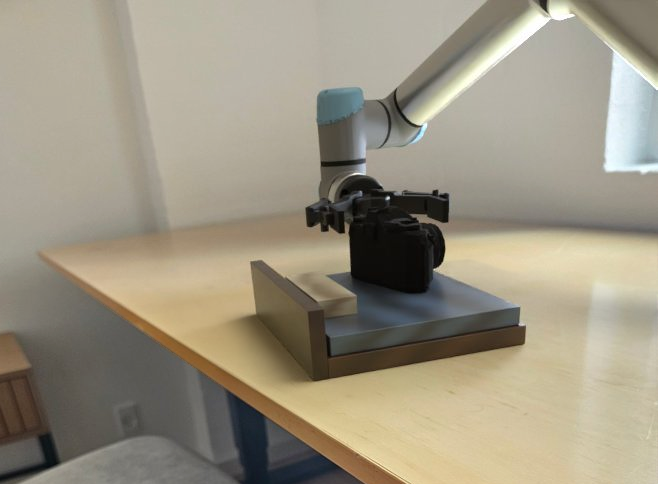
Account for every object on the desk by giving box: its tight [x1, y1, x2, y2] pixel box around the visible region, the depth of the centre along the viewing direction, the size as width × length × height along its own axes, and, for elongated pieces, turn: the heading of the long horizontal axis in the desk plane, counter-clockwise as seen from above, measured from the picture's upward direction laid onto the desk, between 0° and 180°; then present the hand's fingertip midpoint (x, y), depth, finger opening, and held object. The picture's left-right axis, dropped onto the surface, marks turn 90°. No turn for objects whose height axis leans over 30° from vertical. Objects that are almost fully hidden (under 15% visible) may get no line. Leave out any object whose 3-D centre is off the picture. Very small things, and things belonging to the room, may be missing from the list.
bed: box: [249, 259, 527, 382], centre depth 78 cm, size 24×28×7 cm
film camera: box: [347, 206, 447, 293], centre depth 81 cm, size 15×10×9 cm, turn 30°
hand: (394, 217), depth 83 cm, fingers open, 13 cm apart
